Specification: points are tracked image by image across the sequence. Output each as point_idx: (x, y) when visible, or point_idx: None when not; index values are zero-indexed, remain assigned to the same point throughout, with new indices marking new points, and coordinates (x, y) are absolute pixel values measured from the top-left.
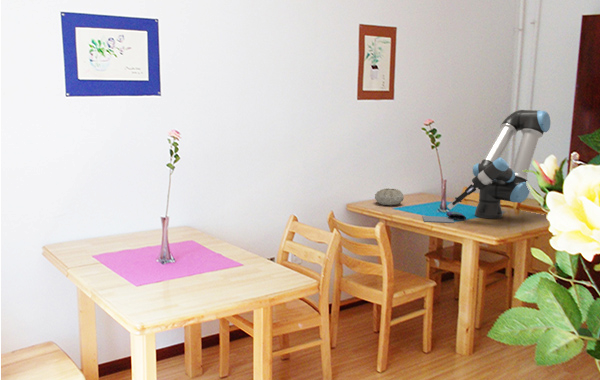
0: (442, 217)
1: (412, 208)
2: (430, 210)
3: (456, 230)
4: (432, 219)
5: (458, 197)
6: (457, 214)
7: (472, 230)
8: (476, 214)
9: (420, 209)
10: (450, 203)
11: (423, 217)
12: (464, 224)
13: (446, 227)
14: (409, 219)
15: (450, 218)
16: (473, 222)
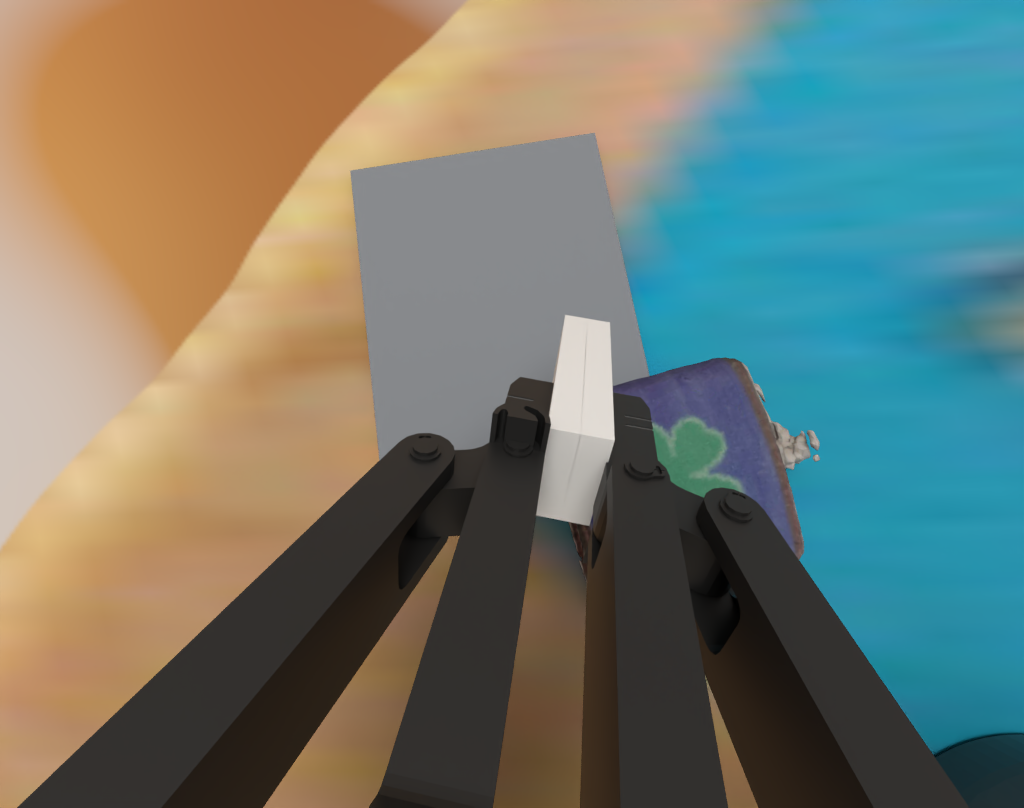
0: None
1: (994, 13)
2: (995, 184)
3: (30, 509)
4: (445, 239)
5: (359, 492)
6: None
7: (60, 693)
8: (955, 769)
9: (988, 87)
10: (560, 353)
11: (513, 149)
12: None
13: (153, 400)
14: (424, 50)
15: None
16: (516, 708)
